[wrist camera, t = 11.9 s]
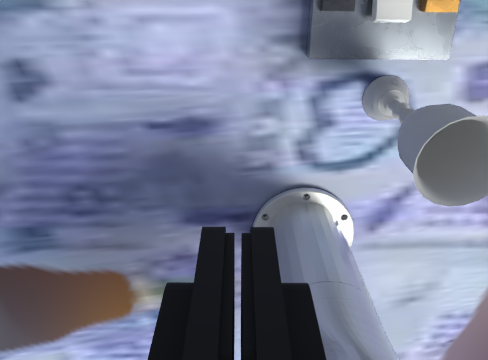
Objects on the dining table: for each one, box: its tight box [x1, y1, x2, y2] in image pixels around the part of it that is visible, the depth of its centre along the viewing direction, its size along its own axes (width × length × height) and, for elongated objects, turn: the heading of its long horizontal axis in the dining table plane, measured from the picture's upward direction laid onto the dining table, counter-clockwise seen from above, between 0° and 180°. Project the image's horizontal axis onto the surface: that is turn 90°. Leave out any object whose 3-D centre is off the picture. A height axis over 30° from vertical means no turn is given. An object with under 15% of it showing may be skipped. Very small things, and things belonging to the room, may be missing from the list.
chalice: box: [362, 75, 488, 206], centre depth 38 cm, size 7×7×18 cm
